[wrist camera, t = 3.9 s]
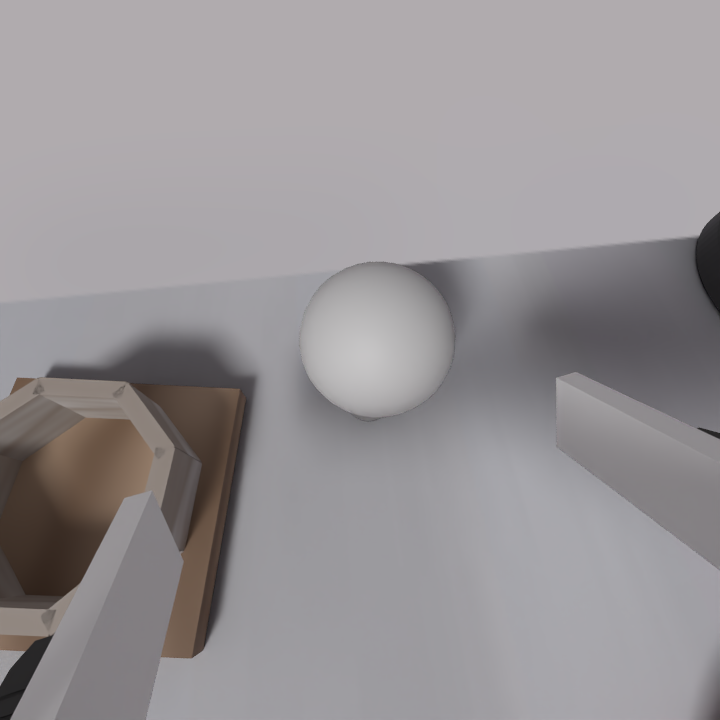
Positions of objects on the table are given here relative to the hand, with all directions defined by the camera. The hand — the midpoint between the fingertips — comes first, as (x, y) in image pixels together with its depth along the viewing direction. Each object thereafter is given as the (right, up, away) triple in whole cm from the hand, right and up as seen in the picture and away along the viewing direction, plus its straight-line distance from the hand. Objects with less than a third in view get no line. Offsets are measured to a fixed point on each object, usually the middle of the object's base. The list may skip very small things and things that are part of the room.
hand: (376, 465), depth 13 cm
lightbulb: (0, +1, +11) cm, 11 cm away
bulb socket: (-13, -4, +8) cm, 16 cm away
